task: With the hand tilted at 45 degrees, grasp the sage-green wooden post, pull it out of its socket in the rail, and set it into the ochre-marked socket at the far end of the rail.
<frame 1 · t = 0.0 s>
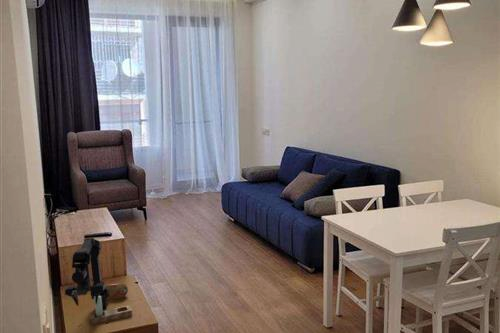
hand: (87, 304, 234), 15 cm above the table, tool pointing down, fingers open, 9 cm apart
post: (100, 319, 248), resting in rail
rail: (111, 317, 250), on the table
tin: (115, 297, 276), on the table
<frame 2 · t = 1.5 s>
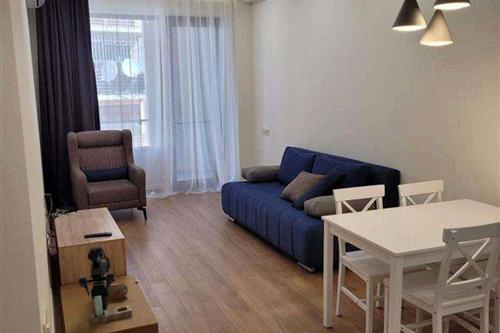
hand: (97, 294, 249), 13 cm above the table, tool tilted 45°, fingers open, 9 cm apart
nothing on the table moved.
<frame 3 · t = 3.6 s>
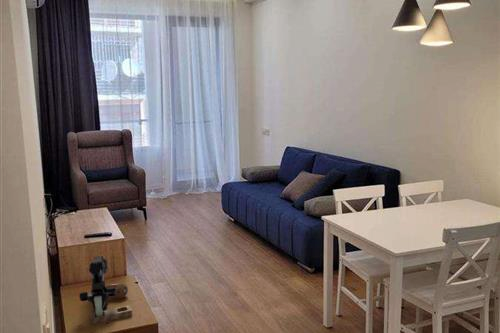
hand: (98, 309, 246), 7 cm above the table, tool tilted 45°, fingers closed on post, 4 cm apart
post: (100, 319, 248), resting in rail, touching gripper
everything else where it was.
when the fingers open (8 cm above the table, at t = 8.2 s): post drops 1 cm, resting in rail.
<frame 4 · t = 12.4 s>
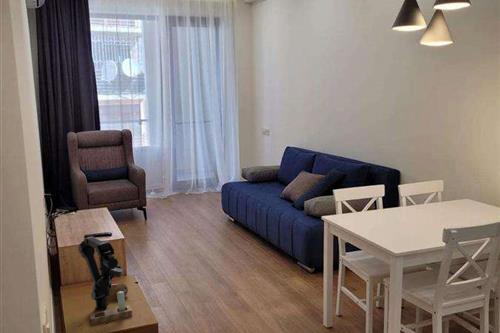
hand: (108, 291, 253), 13 cm above the table, tool pointing down, fingers open, 9 cm apart
post: (122, 314, 252), resting in rail
everything else where it was.
at the end: post 0.1 cm from the target spot, resting in rail; post tilted 0°; the gripper is holding nothing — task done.
